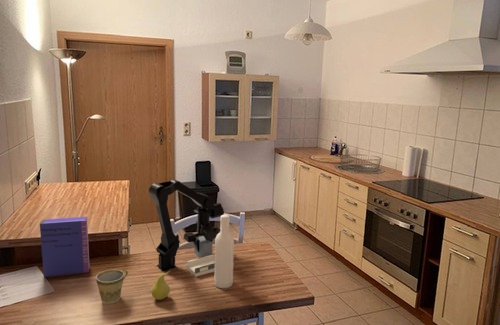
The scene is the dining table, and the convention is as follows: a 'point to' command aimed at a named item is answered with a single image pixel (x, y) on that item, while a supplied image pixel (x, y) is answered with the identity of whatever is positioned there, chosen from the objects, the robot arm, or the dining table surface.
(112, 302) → the ceramic cup
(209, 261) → the shelf
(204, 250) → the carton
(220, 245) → the bottle
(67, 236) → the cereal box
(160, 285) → the fruit
